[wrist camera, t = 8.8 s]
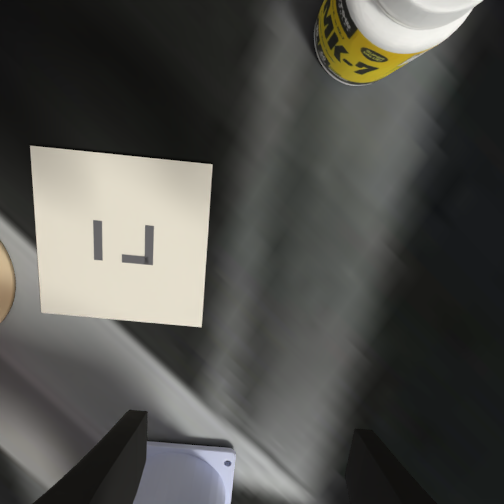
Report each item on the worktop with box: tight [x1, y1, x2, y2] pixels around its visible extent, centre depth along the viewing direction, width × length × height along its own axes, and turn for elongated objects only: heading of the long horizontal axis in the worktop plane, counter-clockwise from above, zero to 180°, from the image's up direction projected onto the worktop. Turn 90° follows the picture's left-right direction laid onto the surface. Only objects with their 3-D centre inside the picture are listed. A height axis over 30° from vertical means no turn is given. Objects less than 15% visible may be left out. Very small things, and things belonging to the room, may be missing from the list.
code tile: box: [30, 146, 213, 327], centre depth 20 cm, size 10×10×1 cm
